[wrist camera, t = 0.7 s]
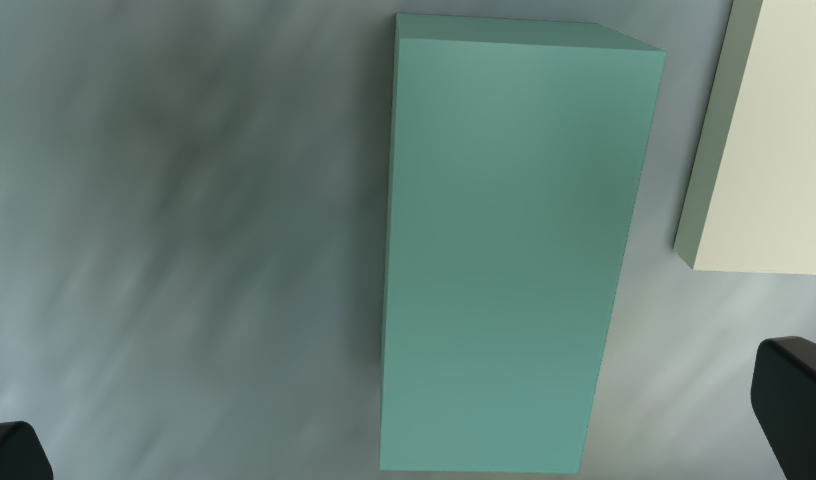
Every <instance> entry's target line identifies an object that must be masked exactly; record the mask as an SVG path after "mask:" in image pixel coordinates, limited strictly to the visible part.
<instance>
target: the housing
mask: <svg viewBox="0 0 816 480" xmlns="http://www.w3.org/2000/svg"><path fill="white" fill-rule="evenodd" d="M665 56H666V51H663V50H661V49H658V48H656V47H653V46H651V45H648V44H646V43H643V42H641V41H639V40H636V39H634V38H631V37H629V36H626V35H624V34H621V33H619V32H616V31H614V30H611V29H609V28H606V27H604V26H601V25H599V24H592V23H574V22H555V21H537V20H518V19H500V18H481V17H462V16H444V15H425V14H407V13H396V27H395V49H394V72H393V95H392V117H391V140H390V162H389V185H388V207H387V230H386V252H385V275H384V297H383V320H382V342H381V366H380V455H379V470H409V471H463V472H517V473H571V474H578V470H579V465H580V461H581V456H582V451H583V446H584V441H585V437H586V432H587V427H588V422H589V418H590V413H591V408H592V403H593V399H594V394H595V389H596V384H597V380H598V375H599V370H600V365H601V361H602V356H603V351H604V346H605V342H606V337H607V332H608V327H609V322H610V318H611V313H612V308H613V303H614V299H615V294H616V289H617V284H618V280H619V275H620V270H621V265H622V261H623V256H624V251H625V246H626V242H627V237H628V232H629V227H630V223H631V218H632V213H633V208H634V203H635V199H636V194H637V189H638V184H639V180H640V175H641V170H642V165H643V161H644V156H645V151H646V146H647V142H648V137H649V132H650V127H651V123H652V118H653V113H654V108H655V104H656V99H657V94H658V89H659V84H660V80H661V75H662V70H663V65H664V61H665Z"/></svg>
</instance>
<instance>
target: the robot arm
mask: <svg viewBox="0 0 816 480" xmlns="http://www.w3.org/2000/svg"><path fill="white" fill-rule="evenodd" d="M751 403H752V407H753V410H754V413H755V415H756V417H757V419H758V421H759V423H760V425H761V427H762V429H763V431H764V433H765V436H766V438H767V440H768V442H769V444H770V446H771V448H772V450H773V452H774V454H775V456H776V458H777V460H778V462H779V464H780V466H781V468H782V470H783V472H784V475H785V477H786V479H787V480H816V343H813V342H811V341H809V340H806V339H804V338H802V337H798V336H787V337H778V338H769V339H765V340H764V341H762V342H761V343H760V345H759V347H758V350H757V355H756V361H755V367H754V373H753V379H752V386H751ZM0 480H53V471H52V468H51V465H50V463H49V461H48V459H47V457H46V454H45V452H44V450H43V448H42V446H41V444H40V441H39V439H38V437H37V435H36V433H35V431H34V429H33V427H32V426H31V425H30V424H29V423H27V422H24V421H14V422H5V423H0Z"/></svg>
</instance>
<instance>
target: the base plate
mask: <svg viewBox="0 0 816 480" xmlns="http://www.w3.org/2000/svg"><path fill="white" fill-rule="evenodd" d="M673 249H674V250H675V252H676V253H677V254H678V255H679V256H680V257H681V258H682V259H683V260H684V261H685V262H686V263H687V265H688V266H689V267H690V268H691V269H692V270H701V271H730V272H759V273H788V274H816V0H734V1H733V5H732V9H731V14H730V18H729V22H728V26H727V30H726V34H725V38H724V42H723V46H722V51H721V55H720V59H719V63H718V67H717V71H716V75H715V79H714V83H713V87H712V92H711V96H710V100H709V104H708V108H707V112H706V116H705V120H704V124H703V129H702V133H701V137H700V141H699V145H698V149H697V153H696V157H695V161H694V166H693V170H692V174H691V178H690V182H689V186H688V190H687V194H686V198H685V202H684V207H683V211H682V215H681V219H680V223H679V227H678V231H677V235H676V239H675V244H674V248H673Z"/></svg>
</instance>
